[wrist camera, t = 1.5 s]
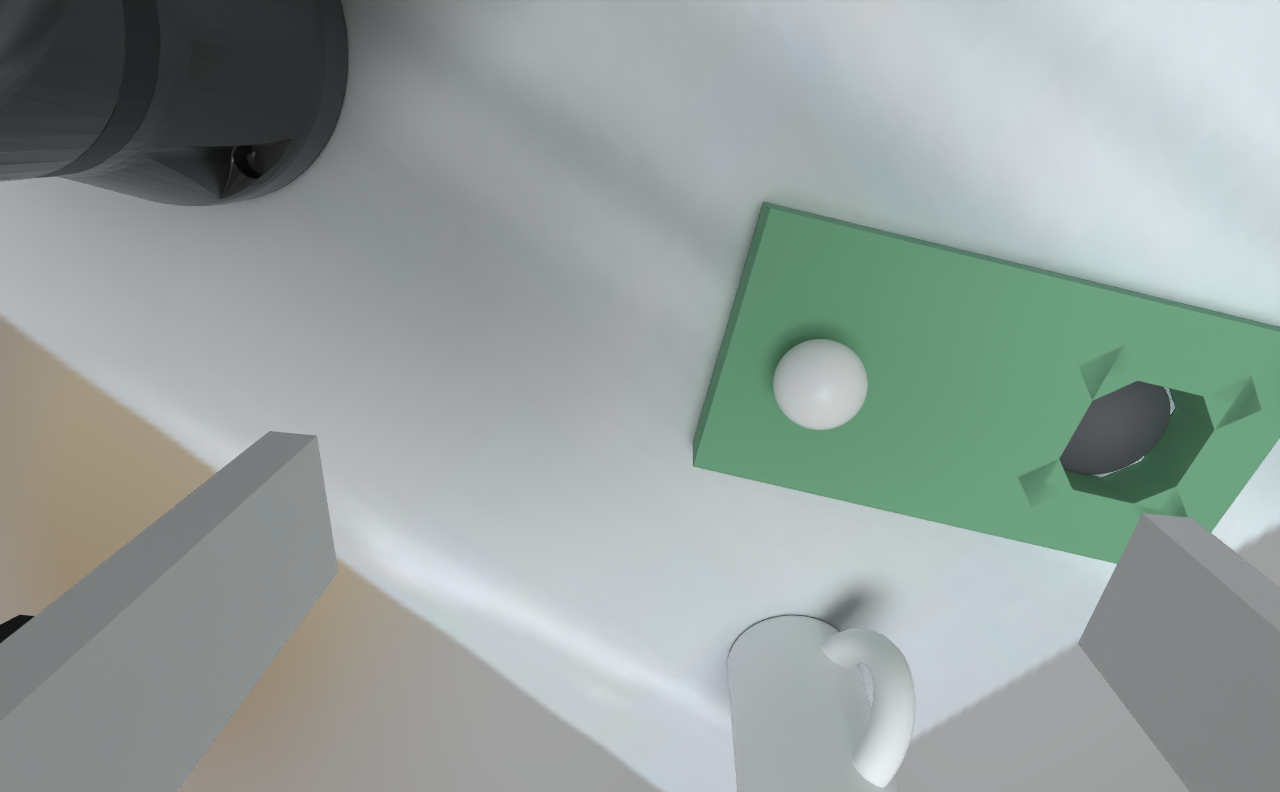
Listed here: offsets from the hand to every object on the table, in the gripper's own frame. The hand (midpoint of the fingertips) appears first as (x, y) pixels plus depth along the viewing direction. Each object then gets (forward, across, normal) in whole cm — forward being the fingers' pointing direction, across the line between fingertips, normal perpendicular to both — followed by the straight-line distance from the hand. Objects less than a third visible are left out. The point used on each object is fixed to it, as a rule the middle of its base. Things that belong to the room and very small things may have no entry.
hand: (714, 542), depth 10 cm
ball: (+17, +6, -4) cm, 19 cm away
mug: (+22, +10, -23) cm, 33 cm away
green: (+22, +16, -6) cm, 28 cm away
